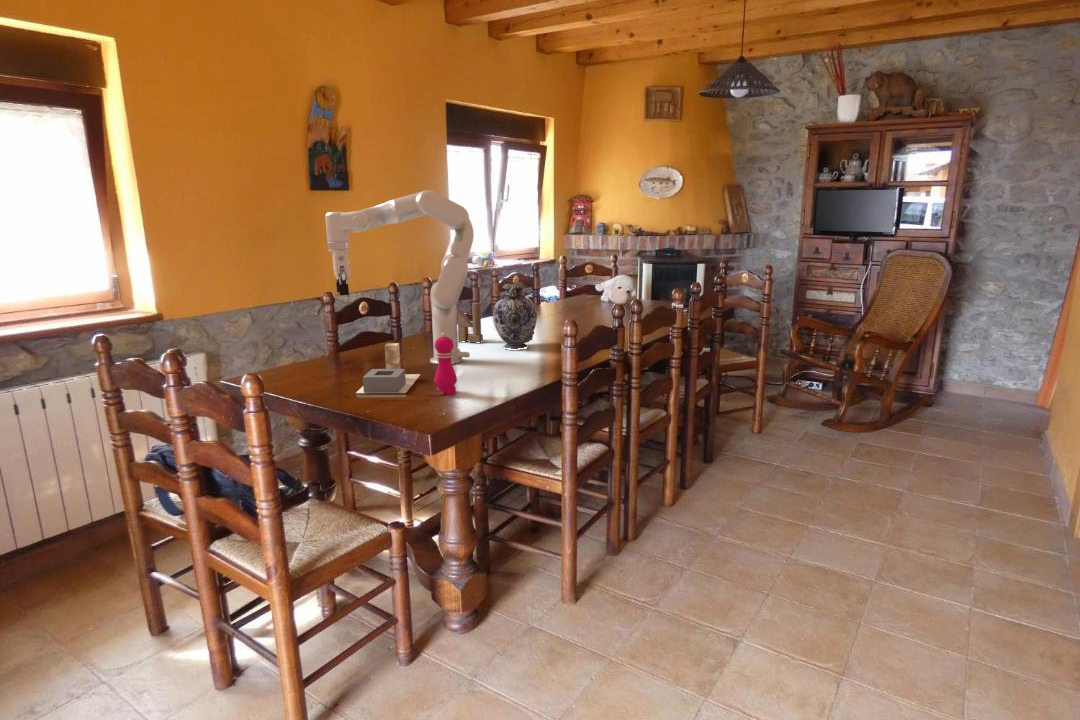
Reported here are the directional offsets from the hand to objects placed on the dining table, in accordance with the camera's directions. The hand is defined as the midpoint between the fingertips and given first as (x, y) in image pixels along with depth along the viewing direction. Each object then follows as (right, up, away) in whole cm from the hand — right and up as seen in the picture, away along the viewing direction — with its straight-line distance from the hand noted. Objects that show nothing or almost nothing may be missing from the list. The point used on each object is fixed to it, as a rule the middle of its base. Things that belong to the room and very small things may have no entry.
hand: (342, 293), depth 238 cm
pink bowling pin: (+42, -35, -29) cm, 62 cm away
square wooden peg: (+23, -31, -16) cm, 42 cm away
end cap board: (+23, -34, -22) cm, 46 cm away
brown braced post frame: (+42, -17, +52) cm, 69 cm away
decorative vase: (+62, -20, +39) cm, 76 cm away
